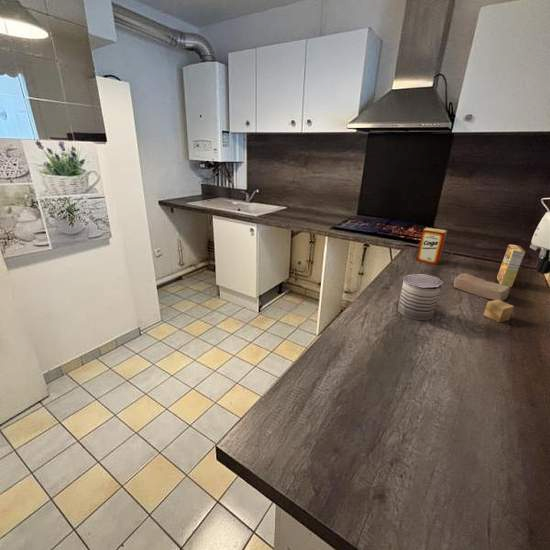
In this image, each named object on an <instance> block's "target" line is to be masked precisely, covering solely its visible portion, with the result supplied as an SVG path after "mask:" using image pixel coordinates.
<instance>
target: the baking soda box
mask: <svg viewBox="0 0 550 550" xmlns="http://www.w3.org/2000/svg"><path fill="white" fill-rule="evenodd" d="M447 233H448V230H446V229H440V228H432V227H425V228H423V229H422V232H421V235H420V239H419V245H418V249H417V254H416V259H415V260H417V261H416V262H421V261H422V263H426V262H427V264H430V263H431V264H430V265H435V264H436V266H437V265H438V264H439V263H440V261H441V258H442V255H443V250H444V245H445V241H446V237H447Z"/></svg>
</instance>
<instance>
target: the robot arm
mask: <svg viewBox="0 0 550 550" xmlns="http://www.w3.org/2000/svg"><path fill="white" fill-rule="evenodd" d="M529 248H530V249H531V250H533V251H536V253H537V255H538V258H539V262H538V264H537V267H536V268H537V270H536V273H538V274H541V275H547V274H550V210H549V211H546V212H545V214H543V216H542V218H541V220H540V221H539V223H538V225H537V227H536V229H535V231H534V233H533V235H532V238H531V243H530V245H529Z"/></svg>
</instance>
